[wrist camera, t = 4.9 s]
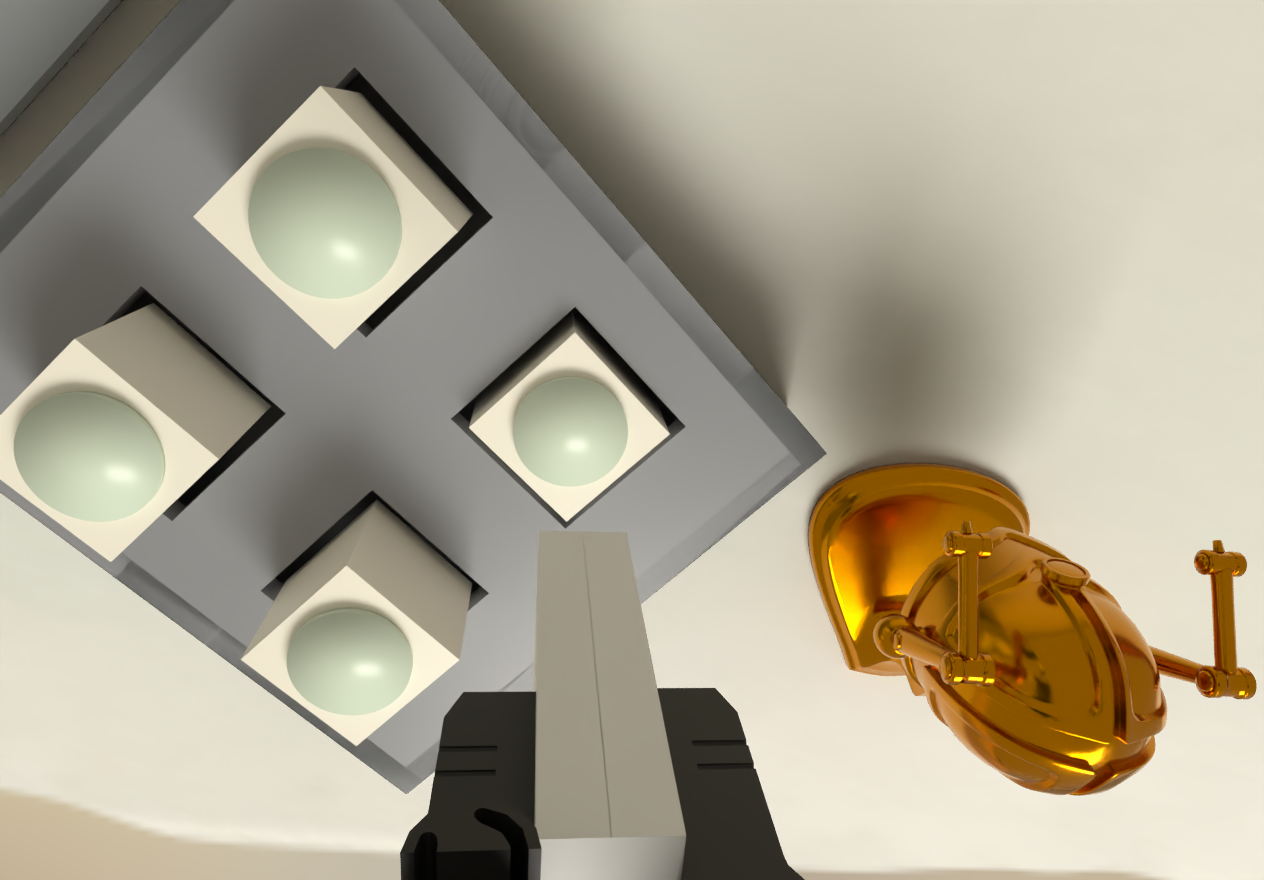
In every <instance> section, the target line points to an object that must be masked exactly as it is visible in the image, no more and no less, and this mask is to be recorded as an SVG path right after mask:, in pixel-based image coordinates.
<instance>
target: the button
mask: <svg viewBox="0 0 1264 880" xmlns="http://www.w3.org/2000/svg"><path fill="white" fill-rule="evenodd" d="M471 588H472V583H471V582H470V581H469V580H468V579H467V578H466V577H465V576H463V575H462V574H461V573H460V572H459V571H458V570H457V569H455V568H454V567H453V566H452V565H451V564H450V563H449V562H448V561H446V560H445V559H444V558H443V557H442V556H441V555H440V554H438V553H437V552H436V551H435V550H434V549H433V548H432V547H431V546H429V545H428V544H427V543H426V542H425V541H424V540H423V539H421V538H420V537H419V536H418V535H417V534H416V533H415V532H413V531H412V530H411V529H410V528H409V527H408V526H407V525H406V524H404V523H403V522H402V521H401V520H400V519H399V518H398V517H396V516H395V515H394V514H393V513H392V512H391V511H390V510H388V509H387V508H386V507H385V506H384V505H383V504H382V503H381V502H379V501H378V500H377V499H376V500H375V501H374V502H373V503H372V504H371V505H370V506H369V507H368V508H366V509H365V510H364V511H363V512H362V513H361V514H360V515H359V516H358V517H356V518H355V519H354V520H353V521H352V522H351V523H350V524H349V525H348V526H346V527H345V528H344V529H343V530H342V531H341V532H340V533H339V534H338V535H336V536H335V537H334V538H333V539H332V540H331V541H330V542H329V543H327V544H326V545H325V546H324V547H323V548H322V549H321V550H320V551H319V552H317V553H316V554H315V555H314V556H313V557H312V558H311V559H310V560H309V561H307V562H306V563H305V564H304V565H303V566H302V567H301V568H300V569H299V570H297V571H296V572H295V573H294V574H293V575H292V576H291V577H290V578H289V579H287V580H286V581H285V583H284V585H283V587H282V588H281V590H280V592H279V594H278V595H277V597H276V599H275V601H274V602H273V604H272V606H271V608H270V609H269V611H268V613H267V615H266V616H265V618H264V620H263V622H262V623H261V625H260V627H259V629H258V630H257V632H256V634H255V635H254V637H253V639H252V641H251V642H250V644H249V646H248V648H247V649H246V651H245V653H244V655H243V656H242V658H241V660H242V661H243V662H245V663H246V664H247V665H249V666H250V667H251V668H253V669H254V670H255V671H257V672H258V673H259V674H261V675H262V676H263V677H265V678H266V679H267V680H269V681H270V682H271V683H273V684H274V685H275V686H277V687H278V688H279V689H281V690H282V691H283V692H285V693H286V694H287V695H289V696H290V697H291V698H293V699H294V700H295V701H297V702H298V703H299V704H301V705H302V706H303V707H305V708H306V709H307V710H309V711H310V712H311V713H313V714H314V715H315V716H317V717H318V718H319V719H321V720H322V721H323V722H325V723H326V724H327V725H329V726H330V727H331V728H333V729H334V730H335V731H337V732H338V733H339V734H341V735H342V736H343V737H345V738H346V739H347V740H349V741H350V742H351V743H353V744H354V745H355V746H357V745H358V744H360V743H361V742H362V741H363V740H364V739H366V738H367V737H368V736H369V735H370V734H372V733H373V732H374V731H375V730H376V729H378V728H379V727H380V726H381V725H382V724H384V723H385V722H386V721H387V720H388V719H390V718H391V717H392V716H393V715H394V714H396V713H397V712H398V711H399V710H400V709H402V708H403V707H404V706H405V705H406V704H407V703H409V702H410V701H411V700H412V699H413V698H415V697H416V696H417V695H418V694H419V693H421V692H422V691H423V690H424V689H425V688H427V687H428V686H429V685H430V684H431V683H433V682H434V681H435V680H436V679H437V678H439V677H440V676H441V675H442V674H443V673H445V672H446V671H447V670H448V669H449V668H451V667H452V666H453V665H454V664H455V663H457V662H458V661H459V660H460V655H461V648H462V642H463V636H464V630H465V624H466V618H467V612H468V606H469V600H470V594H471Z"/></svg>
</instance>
